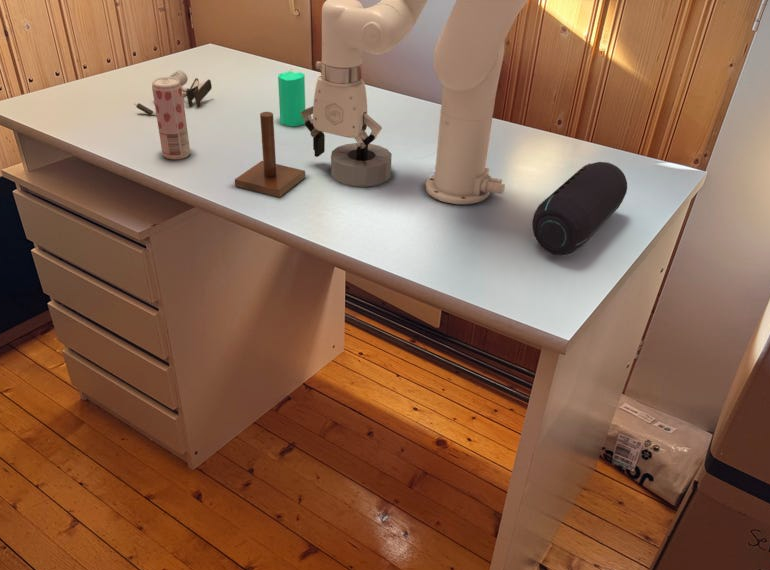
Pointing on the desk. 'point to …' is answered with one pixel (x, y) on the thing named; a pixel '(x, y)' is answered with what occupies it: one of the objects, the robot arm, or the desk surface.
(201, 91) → the clip-on lamp
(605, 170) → the portable speaker
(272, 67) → the desk surface
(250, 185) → the rack
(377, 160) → the tape
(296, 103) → the candle
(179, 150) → the beverage can
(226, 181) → the desk surface
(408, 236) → the desk surface
